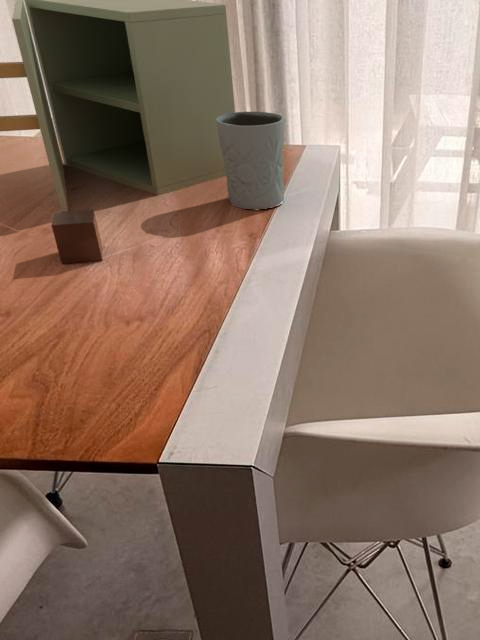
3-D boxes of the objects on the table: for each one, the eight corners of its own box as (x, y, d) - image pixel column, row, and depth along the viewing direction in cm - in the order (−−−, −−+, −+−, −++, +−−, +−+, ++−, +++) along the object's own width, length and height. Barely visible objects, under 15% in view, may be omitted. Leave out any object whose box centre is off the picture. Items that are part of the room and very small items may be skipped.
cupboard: (158, 196, 109) (128, 12, 94) (64, 164, 122) (23, -3, 106) (240, 172, 120) (225, 4, 105) (146, 145, 133) (120, -9, 117)
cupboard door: (12, 216, 100) (-48, 19, 85) (15, 167, 119) (-33, -1, 104) (68, 211, 102) (20, 18, 87) (63, 164, 121) (22, -2, 106)
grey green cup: (243, 216, 103) (235, 128, 95) (213, 198, 109) (203, 114, 101) (300, 204, 108) (297, 120, 100) (268, 188, 114) (263, 107, 106)
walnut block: (61, 264, 88) (51, 225, 84) (63, 250, 91) (53, 212, 88) (102, 260, 89) (93, 222, 85) (102, 246, 92) (93, 209, 89)
